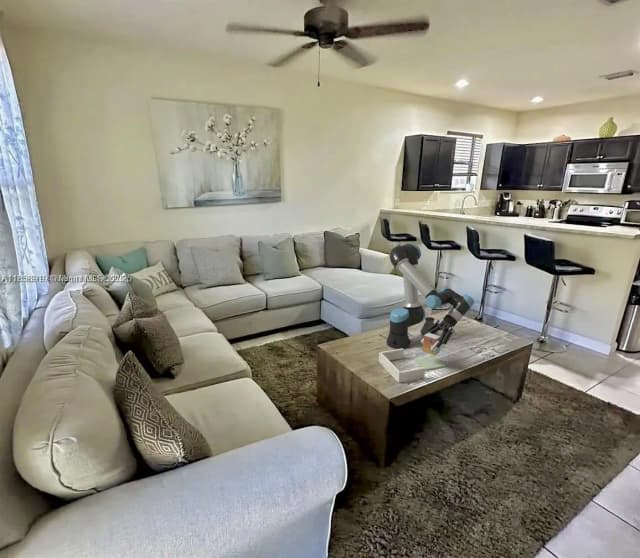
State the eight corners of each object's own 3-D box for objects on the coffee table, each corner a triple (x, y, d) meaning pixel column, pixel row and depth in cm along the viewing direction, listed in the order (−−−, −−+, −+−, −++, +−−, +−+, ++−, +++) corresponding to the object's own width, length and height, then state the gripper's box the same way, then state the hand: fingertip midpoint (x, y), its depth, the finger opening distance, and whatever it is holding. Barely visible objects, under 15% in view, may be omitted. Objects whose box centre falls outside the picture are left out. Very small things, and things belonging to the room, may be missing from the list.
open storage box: (378, 361, 213) (379, 352, 212) (402, 357, 218) (402, 348, 216) (398, 382, 191) (399, 373, 189) (424, 377, 195) (425, 368, 194)
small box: (422, 351, 208) (423, 335, 205) (427, 348, 212) (428, 332, 209) (435, 356, 202) (436, 339, 199) (439, 352, 206) (441, 336, 203)
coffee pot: (416, 334, 249) (417, 314, 245) (430, 331, 253) (431, 311, 248) (435, 347, 230) (437, 325, 225) (450, 344, 233) (452, 323, 229)
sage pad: (413, 360, 213) (413, 359, 213) (434, 357, 217) (434, 355, 217) (425, 370, 202) (425, 369, 202) (446, 366, 206) (446, 365, 206)
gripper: (468, 328, 196) (442, 359, 196) (444, 314, 217) (420, 342, 217) (461, 321, 193) (434, 351, 193) (437, 307, 214) (413, 335, 214)
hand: (427, 346), depth 205 cm, fingers closed on small box, 9 cm apart
